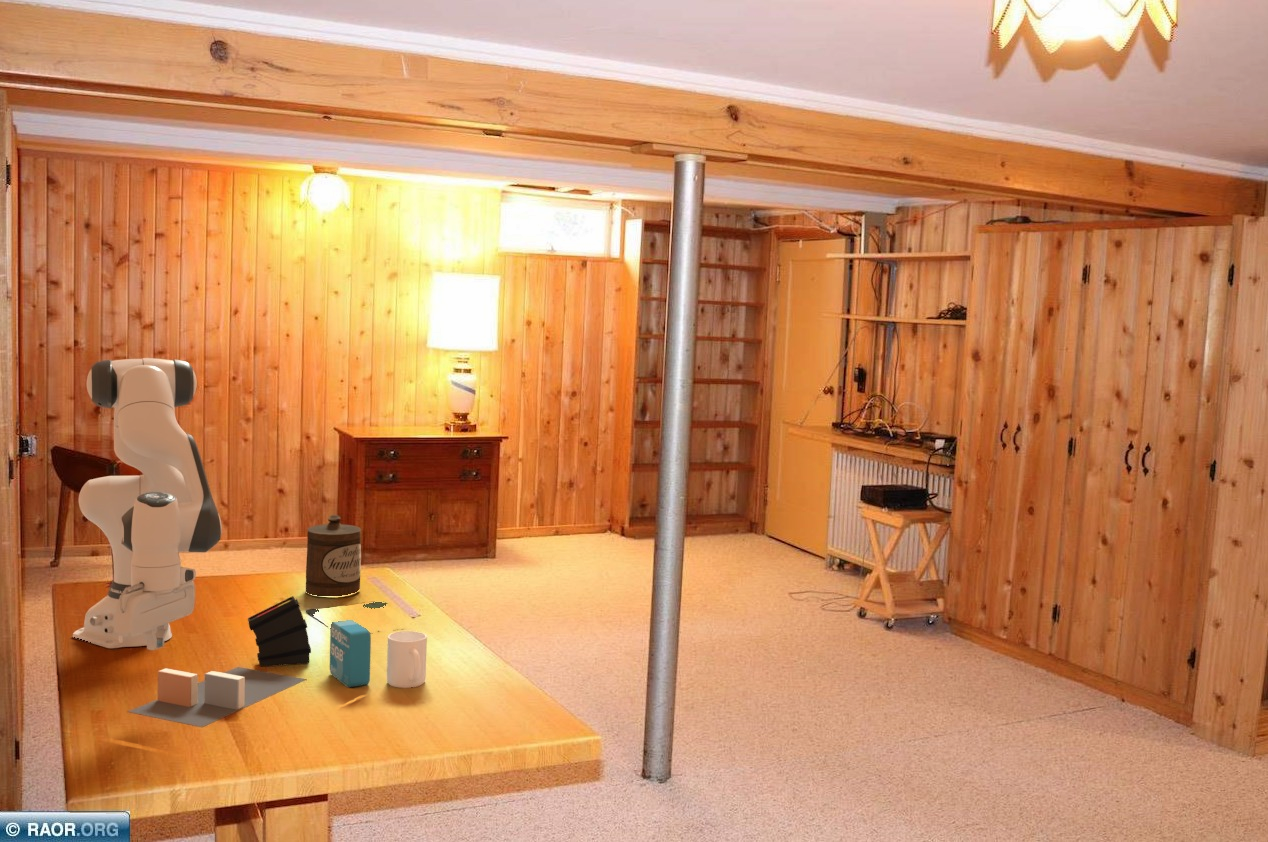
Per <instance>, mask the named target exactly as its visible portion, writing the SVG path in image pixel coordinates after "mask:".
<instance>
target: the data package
mask: <svg viewBox="0 0 1268 842" xmlns="http://www.w3.org/2000/svg"><path fill="white" fill-rule="evenodd" d="M329 630H330V633H329V634H330V637H329V638H330V639H329V673H330V674H332V675H333V678H335V679H336V678H337V679H336V680H338V681H339V682H340V683H341V684H343V685H344V686H345V685H346V688H355V687H360V686H366V685H367V686H368V685H369V684H370V680H371V654H372V653H371V652H372V651H371V650H372V649H371V648H372V646H371V645H372V636H371V633H370V632H369V631H368V630H367V629H366V628H364V627H362V626H361V625H359V624H358V623H356V622H354V621H353V620H346V621H338V622H332V624H331V628H330V629H329ZM332 675H331V676H332Z"/></svg>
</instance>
